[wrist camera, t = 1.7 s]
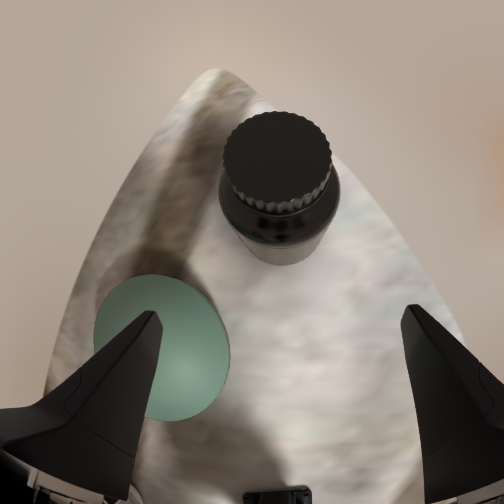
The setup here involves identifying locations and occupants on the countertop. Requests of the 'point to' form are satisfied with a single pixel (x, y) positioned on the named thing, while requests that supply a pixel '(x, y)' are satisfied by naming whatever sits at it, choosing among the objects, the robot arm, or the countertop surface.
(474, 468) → the robot arm
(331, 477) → the countertop surface
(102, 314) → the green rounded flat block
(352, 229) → the countertop surface
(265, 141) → the supplement bottle
